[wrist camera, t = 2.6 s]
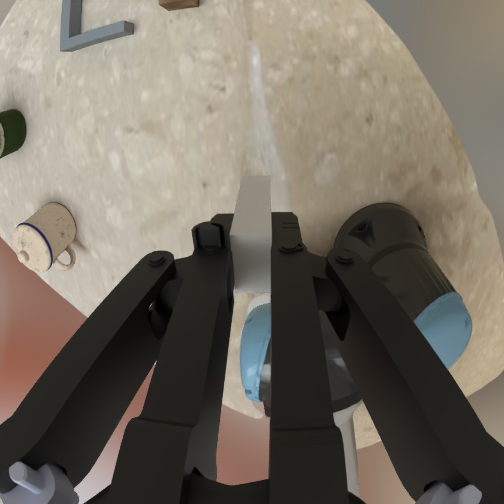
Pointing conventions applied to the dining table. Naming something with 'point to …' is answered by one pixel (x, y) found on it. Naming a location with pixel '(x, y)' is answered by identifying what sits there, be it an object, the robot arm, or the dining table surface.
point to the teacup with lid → (45, 238)
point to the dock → (75, 40)
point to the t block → (178, 4)
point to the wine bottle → (11, 131)
